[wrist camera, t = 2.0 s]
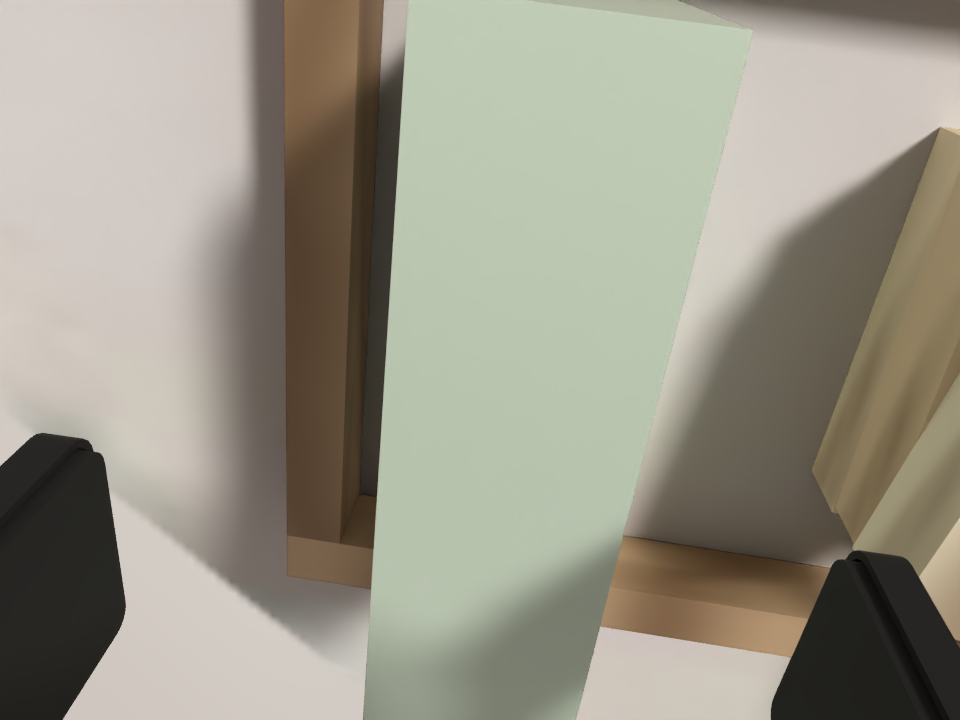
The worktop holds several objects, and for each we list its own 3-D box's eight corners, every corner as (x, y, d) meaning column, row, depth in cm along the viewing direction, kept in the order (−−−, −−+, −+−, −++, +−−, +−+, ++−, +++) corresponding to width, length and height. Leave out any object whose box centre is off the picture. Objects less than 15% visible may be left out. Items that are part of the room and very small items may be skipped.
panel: (662, -6, 18) (753, 30, 9) (563, 485, 24) (558, 787, 15) (489, -28, 18) (409, -15, 9) (436, 466, 24) (360, 753, 16)
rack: (1496, -73, 15) (2269, -98, 8) (1040, 641, 25) (1226, 911, 18) (319, -215, 16) (130, -345, 9) (310, 525, 26) (212, 737, 19)
